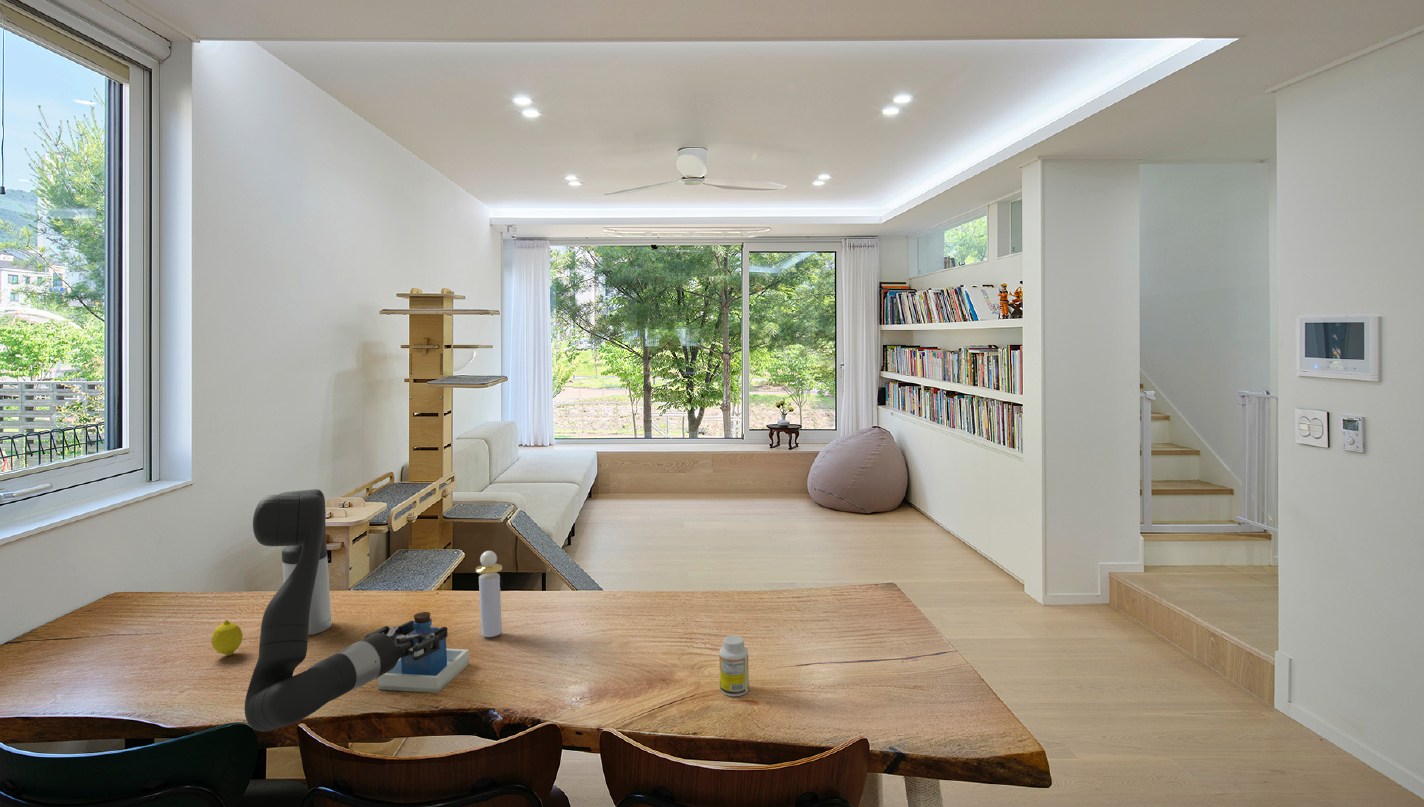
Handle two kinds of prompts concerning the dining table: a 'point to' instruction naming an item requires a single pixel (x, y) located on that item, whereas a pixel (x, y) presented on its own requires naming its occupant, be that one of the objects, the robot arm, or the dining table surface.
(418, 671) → the perfume bottle
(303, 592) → the robot arm
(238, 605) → the dining table surface
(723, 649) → the supplement bottle
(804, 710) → the dining table surface
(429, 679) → the dish
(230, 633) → the fruit
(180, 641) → the dining table surface
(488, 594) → the perfume bottle
